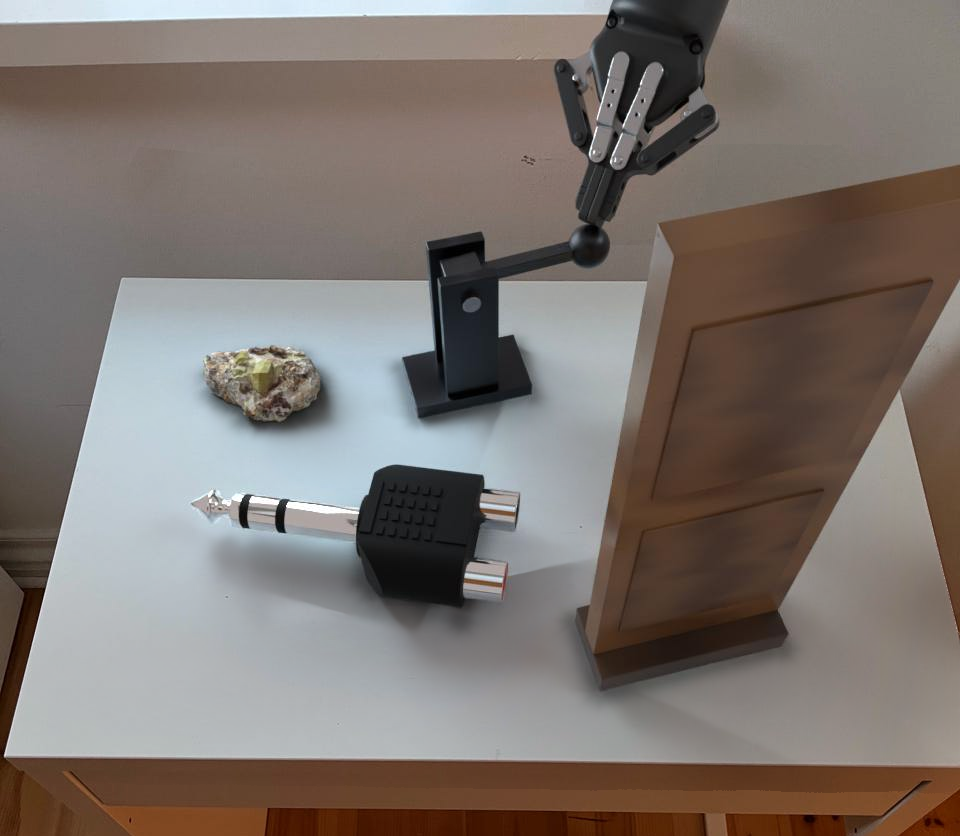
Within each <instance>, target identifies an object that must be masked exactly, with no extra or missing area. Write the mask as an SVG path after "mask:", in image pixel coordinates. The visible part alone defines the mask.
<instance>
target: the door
mask: <svg viewBox="0 0 960 836" xmlns="http://www.w3.org/2000/svg"><path fill="white" fill-rule="evenodd" d="M654 236H655V237H654V242H653V246H652V252H651V258H650V264H649V269H648V270H649V271H648V275H647V281H646V286H645V292H644V297H643V302H642V309H641V315H640V319H639V326H638V331H637V336H636V343H635V348H634V353H633V360H632V364H631V371H630V376H629V382H628V388H627V394H626V399H625V404H624V411H623V415H622V422H621V425H620V426H621V427H620V433H619V439H618V444H617V450H616V454H615V459H614V460H615V461H614V466H613V470H612V471H613V472H612V478H611V483H610V489H609V493H608V500H607V504H606V505H607V506H606V511H605V516H604V517H605V518H604V522H603V529H602V532H601V533H602V534H601V539H600V545H599V550H598V557H597V563H596V567H595V574H594V578H593V584H592V590H591V595H590V601H589V604H588V605H583V606H579V607H576V611H575V618H574V622H575V625H576V628H577V632H578V634H579V637H580V640H581V642H582V645H583V648H584V651H585V655H586V657H587V660H588V664H589V666H590V668H591V672H592V674H593V677H594V681H595V683H596V686H597V689H598V691H599V692H600V691H606V690H609V689H614V688H617V687H621V686H627V685H629V684H634V683H638V682H642V681H646V680H650V679H655V678H658V677H662V676H666V675H671V674H674V673H679V672H683V671H687V670H691V669H695V668H700V667H702V666H707V665H711V664H715V663H720V662H723V661H727V660H731V659H735V658H740V657H743V656H748V655H752V654H755V653H756V654H757V653H760V652H765V651H768V650H772V649H777V648H780V647H782V646H783V645H784V643H785V642H786V640H787V639H788V637H789V635H790V633H789V631H788V629H787V627H786V624H785V622H784V619H783V618H782V616H781V613H780V612H779V609H780V608H781V606H782V604H783V603H784V600H785V599H786V597H787V596H788V593H789V591H790V589H791V588H792V586H793V585H794V582H795V580H796V579H797V577H798V575H799V573H800V571H801V569H802V568H803V566H804V564H805V563H806V561H807V558H808V557H809V555H810V553H811V551H812V549H813V547H814V546H815V544H816V542H817V541H818V538H819V537H820V535H821V534H822V531H823V530H824V527H825V526H826V524H827V522H828V520H829V519H830V517H831V515H832V513H833V511H834V510H835V507H836V506H837V504H838V503H839V500H840V499H841V497H842V495H843V493H844V492H845V489H846V488H847V486H848V484H849V482H850V481H851V478H852V477H853V475H854V473H855V471H856V470H857V468H858V466H859V464H860V462H861V460H862V459H863V456H864V455H865V453H866V451H867V449H868V448H869V446H870V444H871V442H872V441H873V439H874V437H875V435H876V433H877V431H878V430H879V428H880V426H881V425H882V422H883V421H884V418H885V417H886V415H887V413H888V412H889V410H890V408H891V406H892V404H893V402H894V401H895V399H896V396H897V395H898V393H899V391H900V389H901V388H902V386H903V384H904V382H905V381H906V379H907V377H908V376H909V373H910V371H911V370H912V368H913V366H914V364H915V362H916V360H917V358H918V357H919V355H920V353H921V351H922V349H923V348H924V346H925V343H926V342H927V341H928V339H929V337H930V335H931V333H932V332H933V329H934V328H935V326H936V324H937V322H938V320H939V319H940V317H941V315H942V313H943V311H944V310H945V308H946V306H947V304H948V302H949V300H950V299H951V297H952V296H953V293H954V291H955V290H956V287H957V286H958V284H959V282H960V163H959V164H954V165H949V166H943V167H939V168H934V169H929V170H923V171H918V172H913V173H908V174H903V175H897V176H892V177H887V178H882V179H877V180H872V181H867V182H862V183H856V184H851V185H846V186H841V187H836V188H831V189H825V190H821V191H816V192H810V193H805V194H799V195H794V196H790V197H785V198H784V197H783V198H780V199H775V200H768V201H763V202H759V203H754V204H749V205H743V206H739V207H733V208H728V209H723V210H717V211H713V212H712V211H711V212H708V213H707V212H706V213H703V214H698V215H692V216H688V217H682V218H677V219H672V220H667V221H661V222H658V223H657V224H656V230H655V235H654Z"/></svg>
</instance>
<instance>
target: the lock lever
mask: <svg viewBox="0 0 960 836" xmlns="http://www.w3.org/2000/svg"><path fill="white" fill-rule="evenodd" d="M610 250H611V241H610V238H609V235H608V232H607V231H606V230H605V229H604V227H603V226H602V227H601V228H598V227H596V226H593V225H590V224H588V223H584V224H581V225H579V226H577V228H575V229H574V230H573V231H572V233H571V234H570V236H569V239H568V240H567V241H563V242H559V243H555V244H551V245H547V246H543V247H538V248H535V249H531V250H527V251H523V252H519V253H515V254H510V255H506V256H503V257H499V258H495V259H491V260H487V261H486V260H485V262H482V263H479V260H478V257H477V255H476V252H475V251H474V252H470V253H466V254H462V255H458V256H454V257H450V258H446V259H442V260H440V267H441V274H442V277H445V276H450V275H455V274H460V273H465V272H470V271H476V270H481V269H486V268H491V267H496V270H497V272H498V275H499V280H501V279H504V278H509V277H512V276H517V275H521V274H525V273H530V272H533V271H537V270H541V269H546V268H549V267H554V266H557V265H561V264H566V263H569V262H572V263H573V264H575V265H576V266H577V267H579V268H581V269H585V270H591V269H595V268H597V267H599V266H600V265H602V264H603V263H604V262H605V261H606V259H607V258H608V256H609V253H610Z"/></svg>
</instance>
